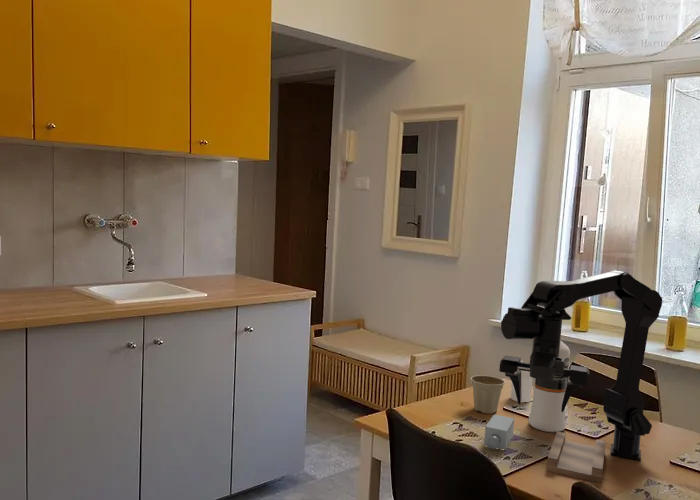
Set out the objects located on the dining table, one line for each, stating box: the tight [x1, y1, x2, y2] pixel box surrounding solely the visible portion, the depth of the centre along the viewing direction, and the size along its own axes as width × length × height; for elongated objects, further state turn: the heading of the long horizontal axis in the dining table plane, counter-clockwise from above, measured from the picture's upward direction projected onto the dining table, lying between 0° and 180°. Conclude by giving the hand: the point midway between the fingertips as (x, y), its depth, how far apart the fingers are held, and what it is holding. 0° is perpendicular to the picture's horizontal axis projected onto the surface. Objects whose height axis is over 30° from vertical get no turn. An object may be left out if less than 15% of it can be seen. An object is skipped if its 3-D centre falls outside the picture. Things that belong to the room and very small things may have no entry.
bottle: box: [483, 414, 515, 451], centre depth 147 cm, size 13×5×5 cm, turn 155°
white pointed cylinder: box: [510, 359, 533, 403], centre depth 183 cm, size 6×12×6 cm
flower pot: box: [470, 374, 506, 414], centre depth 171 cm, size 9×9×9 cm
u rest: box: [546, 431, 606, 484], centre depth 139 cm, size 18×11×3 cm, turn 155°
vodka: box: [528, 339, 571, 433], centre depth 160 cm, size 9×9×30 cm
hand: (540, 407), depth 137 cm, fingers open, 9 cm apart
